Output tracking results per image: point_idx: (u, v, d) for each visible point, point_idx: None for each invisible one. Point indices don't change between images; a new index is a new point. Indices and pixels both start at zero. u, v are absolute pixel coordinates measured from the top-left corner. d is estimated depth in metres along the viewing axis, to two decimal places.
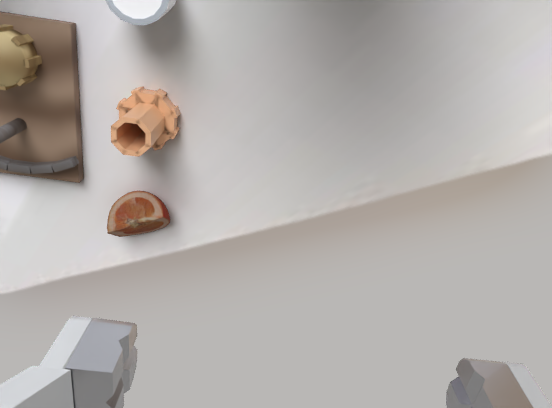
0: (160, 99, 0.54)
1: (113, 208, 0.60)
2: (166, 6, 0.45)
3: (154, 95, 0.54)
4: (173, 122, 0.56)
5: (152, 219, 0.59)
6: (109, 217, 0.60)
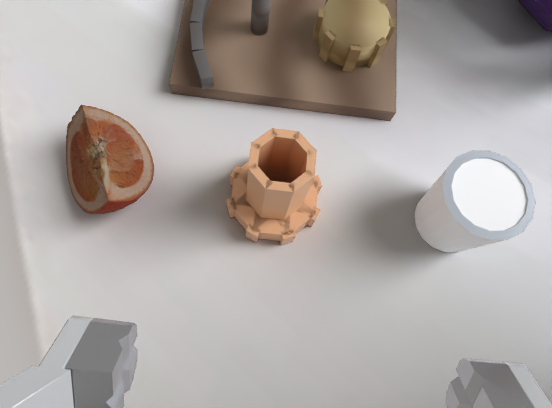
0: (309, 216, 0.35)
1: (124, 122, 0.35)
2: (475, 233, 0.31)
3: (315, 207, 0.36)
4: (274, 232, 0.35)
5: (104, 181, 0.32)
6: (109, 114, 0.35)
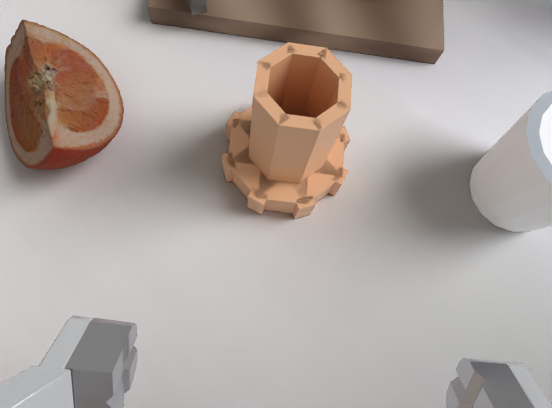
0: (334, 178, 0.26)
1: (84, 49, 0.26)
2: None
3: (341, 168, 0.26)
4: (286, 200, 0.25)
5: (49, 121, 0.23)
6: (63, 36, 0.26)
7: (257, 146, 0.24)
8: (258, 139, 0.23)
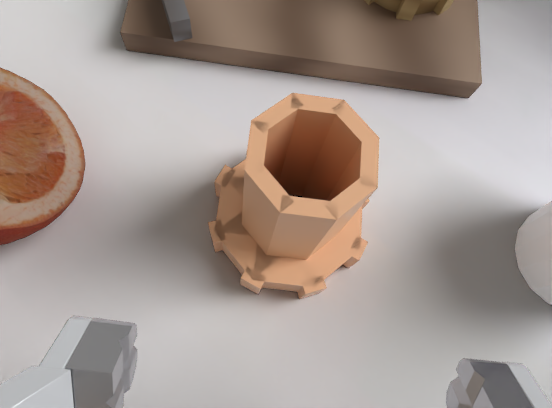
0: (350, 252, 0.21)
1: (36, 90, 0.21)
2: None
3: (359, 238, 0.21)
4: (289, 282, 0.20)
5: None
6: (8, 74, 0.20)
7: (252, 220, 0.18)
8: (253, 214, 0.17)
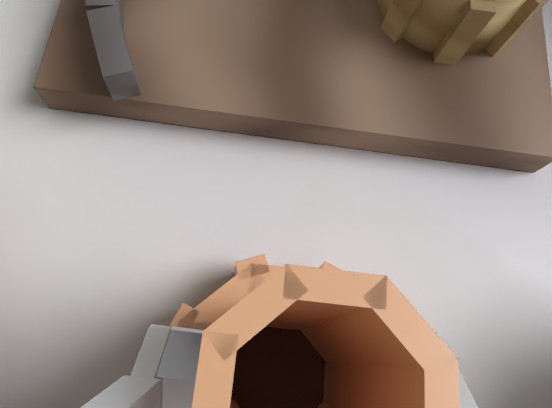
0: None
1: None
2: None
3: None
4: None
5: None
6: None
7: None
8: None
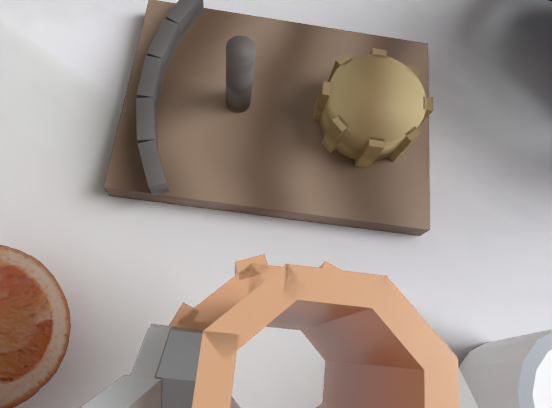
0: None
1: (26, 259, 0.23)
2: None
3: None
4: None
5: None
6: (1, 248, 0.23)
7: None
8: None
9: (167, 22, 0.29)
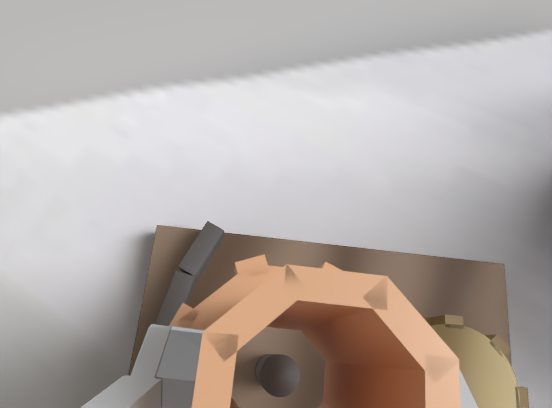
0: None
1: None
2: None
3: None
4: None
5: None
6: None
7: None
8: None
9: (180, 275, 0.23)
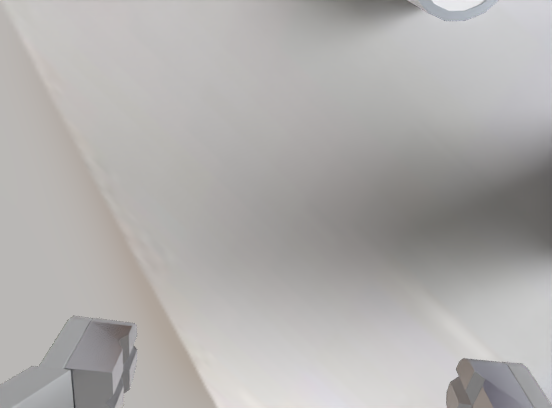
0: None
1: None
2: (432, 13, 0.30)
3: None
4: None
5: None
6: None
7: None
8: None
9: None
